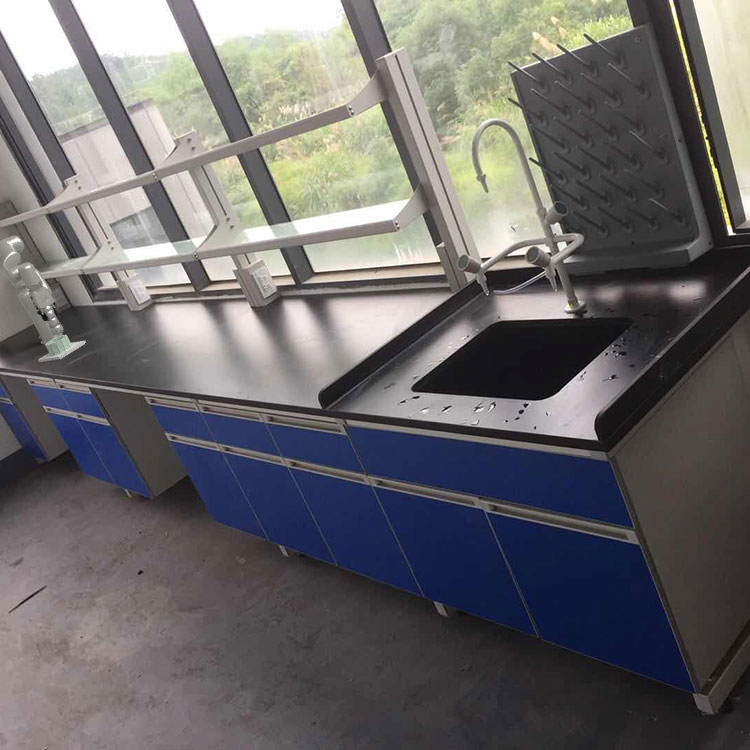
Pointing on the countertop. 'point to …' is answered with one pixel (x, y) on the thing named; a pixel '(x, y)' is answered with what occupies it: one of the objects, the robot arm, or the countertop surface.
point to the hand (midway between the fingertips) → (50, 317)
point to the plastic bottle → (53, 321)
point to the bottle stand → (60, 348)
